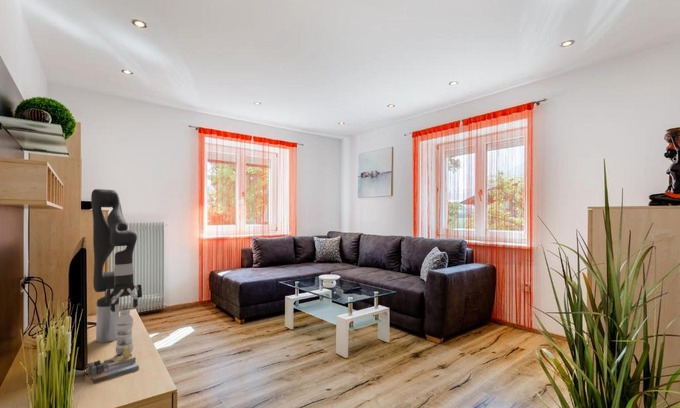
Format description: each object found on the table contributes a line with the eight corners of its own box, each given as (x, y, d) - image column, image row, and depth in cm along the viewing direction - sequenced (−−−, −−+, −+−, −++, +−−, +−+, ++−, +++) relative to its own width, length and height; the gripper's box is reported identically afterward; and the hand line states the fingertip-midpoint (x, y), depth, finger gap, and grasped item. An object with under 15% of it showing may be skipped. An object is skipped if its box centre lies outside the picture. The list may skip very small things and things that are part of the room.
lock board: (84, 371, 134) (84, 360, 134) (127, 358, 145) (127, 348, 145) (93, 383, 125) (94, 371, 125) (138, 369, 136) (139, 358, 136)
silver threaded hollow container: (124, 358, 146) (125, 311, 146) (111, 356, 147) (112, 310, 148) (136, 352, 152) (137, 307, 153) (124, 350, 154) (124, 306, 154)
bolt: (112, 364, 136) (112, 349, 136) (129, 359, 141) (129, 345, 141) (114, 367, 134) (114, 351, 134) (131, 362, 139) (131, 347, 139)
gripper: (138, 271, 163) (138, 305, 162) (103, 275, 153) (103, 312, 151) (143, 272, 158) (144, 307, 157) (108, 276, 148) (108, 314, 146)
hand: (124, 309), depth 154 cm, fingers open, 8 cm apart
